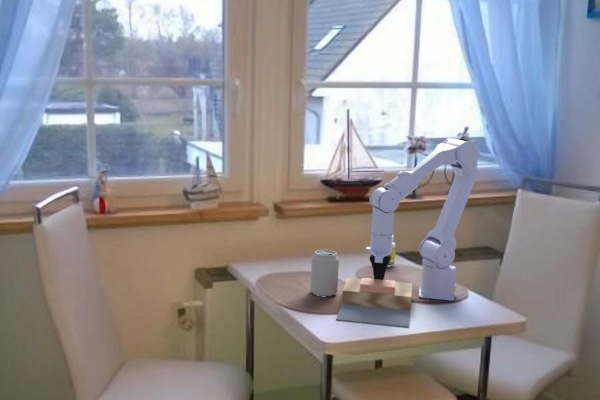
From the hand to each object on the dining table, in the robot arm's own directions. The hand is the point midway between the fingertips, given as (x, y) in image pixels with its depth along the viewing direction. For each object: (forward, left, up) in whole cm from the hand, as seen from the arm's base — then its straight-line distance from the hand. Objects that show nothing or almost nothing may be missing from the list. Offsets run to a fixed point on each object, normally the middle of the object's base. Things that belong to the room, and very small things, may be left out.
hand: (378, 281), depth 197 cm
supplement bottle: (0, -36, -5) cm, 36 cm away
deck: (0, +1, -5) cm, 5 cm away
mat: (0, +13, -5) cm, 14 cm away
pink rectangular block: (0, +4, -1) cm, 4 cm away
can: (+15, -1, -5) cm, 16 cm away
